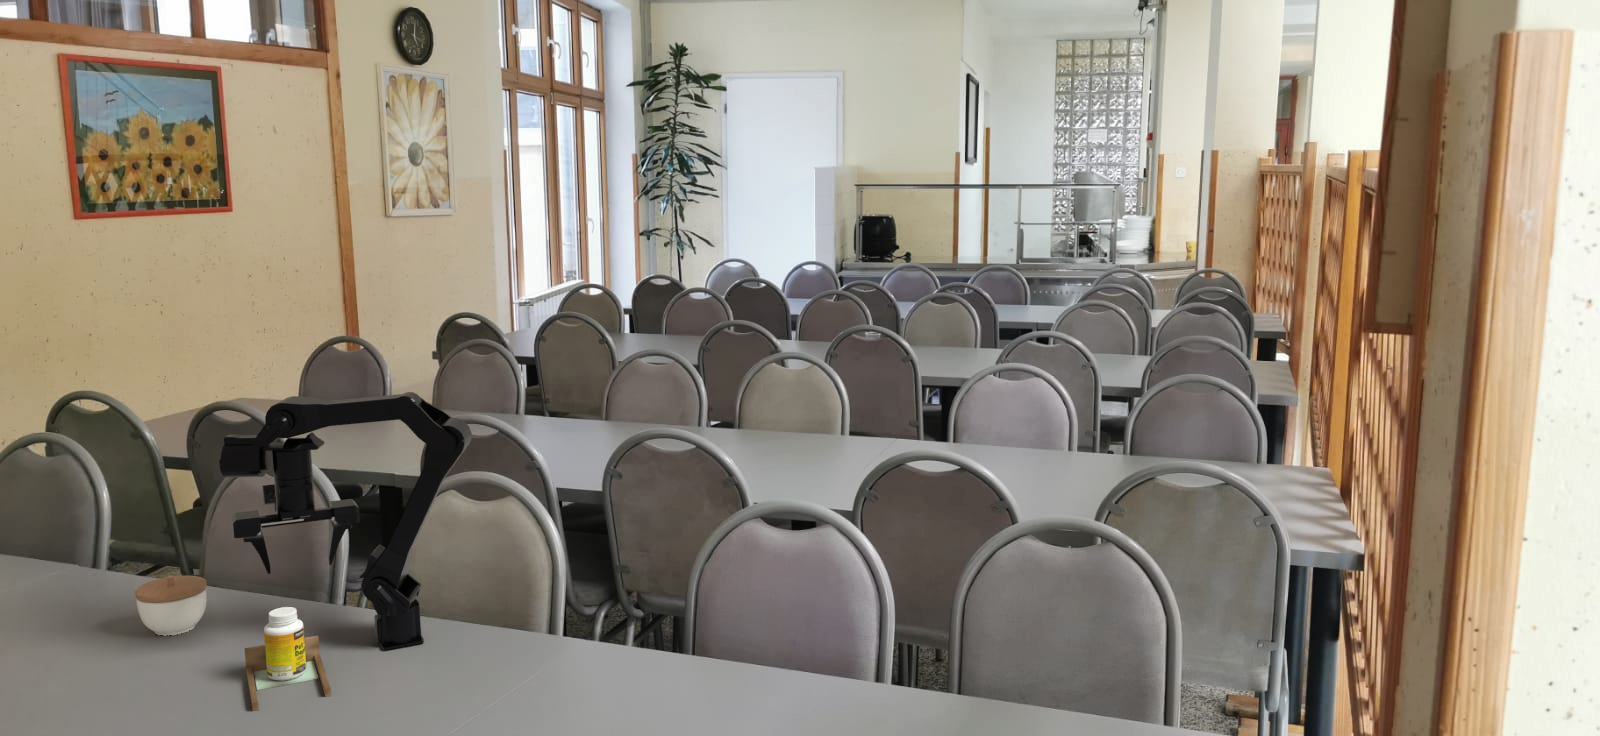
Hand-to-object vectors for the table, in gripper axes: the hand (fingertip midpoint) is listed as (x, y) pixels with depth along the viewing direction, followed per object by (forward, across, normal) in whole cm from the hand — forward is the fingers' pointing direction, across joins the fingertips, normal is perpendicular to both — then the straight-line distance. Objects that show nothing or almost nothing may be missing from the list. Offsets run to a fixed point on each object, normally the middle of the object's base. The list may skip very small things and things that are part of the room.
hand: (300, 568), depth 190 cm
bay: (+13, +4, +15) cm, 20 cm away
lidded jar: (+14, +19, -18) cm, 29 cm away
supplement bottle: (+13, +4, +12) cm, 18 cm away
